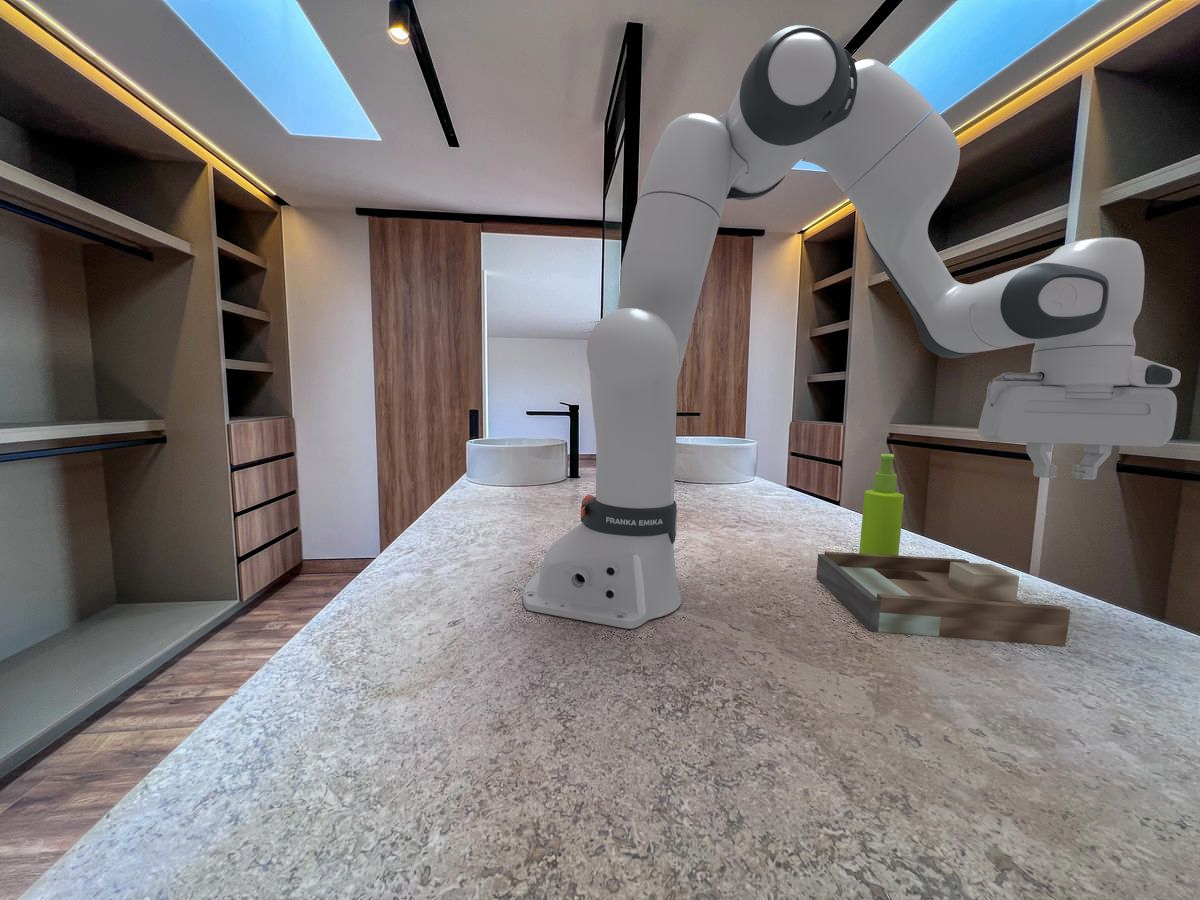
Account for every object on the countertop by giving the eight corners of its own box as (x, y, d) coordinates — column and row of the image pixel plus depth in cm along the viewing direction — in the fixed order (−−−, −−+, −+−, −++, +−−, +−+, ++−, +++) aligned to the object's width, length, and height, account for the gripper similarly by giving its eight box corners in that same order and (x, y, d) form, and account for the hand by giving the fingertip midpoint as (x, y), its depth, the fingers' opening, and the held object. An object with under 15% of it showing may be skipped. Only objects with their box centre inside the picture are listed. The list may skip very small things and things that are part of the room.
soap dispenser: (896, 561, 78) (906, 453, 76) (898, 572, 73) (909, 457, 71) (859, 554, 82) (867, 451, 80) (858, 565, 76) (867, 454, 74)
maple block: (971, 598, 57) (974, 573, 57) (947, 585, 62) (950, 561, 61) (1016, 601, 57) (1019, 576, 56) (989, 587, 61) (992, 564, 61)
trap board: (869, 631, 53) (872, 596, 52) (816, 577, 70) (818, 551, 69) (1065, 645, 50) (1070, 610, 50) (961, 586, 67) (964, 559, 67)
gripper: (1010, 370, 53) (997, 478, 55) (1197, 372, 51) (1179, 485, 52) (972, 374, 59) (961, 471, 61) (1137, 376, 57) (1122, 477, 58)
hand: (1063, 478), depth 56 cm, fingers open, 3 cm apart
